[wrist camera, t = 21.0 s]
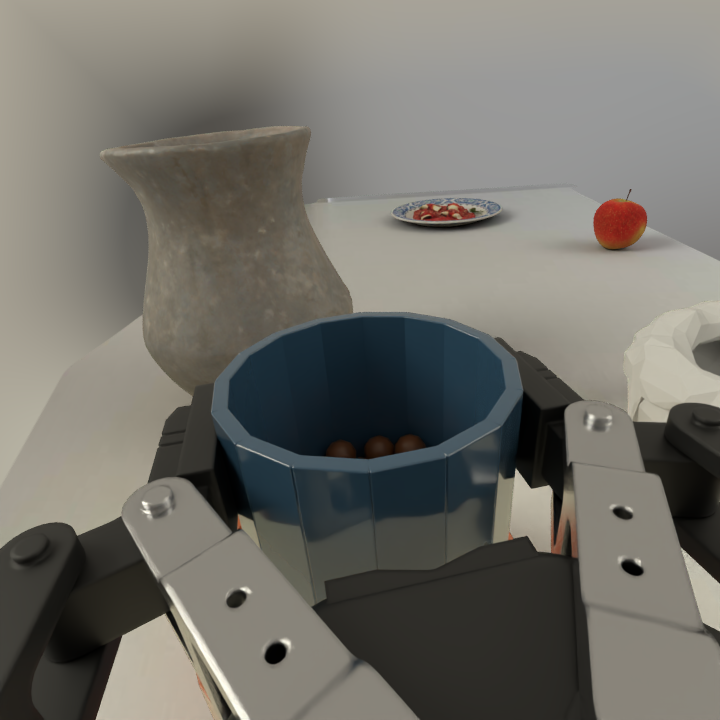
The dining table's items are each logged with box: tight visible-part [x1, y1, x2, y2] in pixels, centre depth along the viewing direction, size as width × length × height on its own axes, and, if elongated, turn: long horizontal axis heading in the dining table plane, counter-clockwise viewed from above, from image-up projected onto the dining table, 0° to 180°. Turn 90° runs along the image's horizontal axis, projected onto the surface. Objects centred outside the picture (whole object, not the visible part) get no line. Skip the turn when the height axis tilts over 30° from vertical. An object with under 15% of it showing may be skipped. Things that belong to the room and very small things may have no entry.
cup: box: [211, 312, 524, 607], centre depth 13 cm, size 7×7×8 cm
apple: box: [594, 189, 647, 249], centre depth 82 cm, size 8×8×10 cm
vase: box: [100, 126, 353, 396], centre depth 44 cm, size 20×19×25 cm
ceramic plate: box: [391, 198, 502, 227], centre depth 113 cm, size 26×26×3 cm
